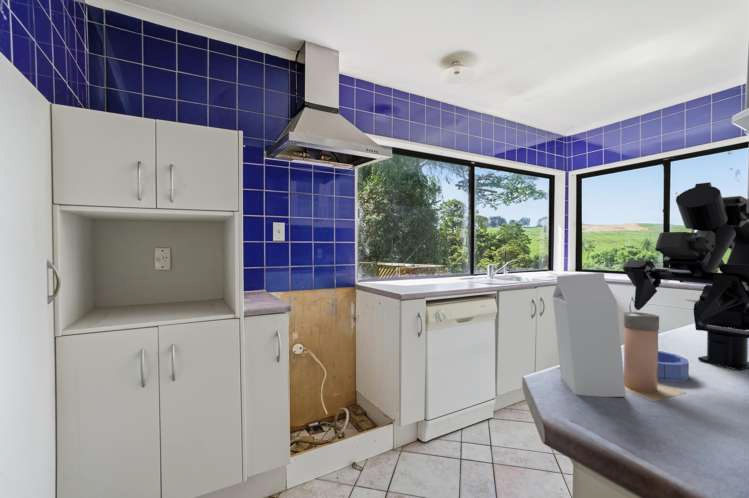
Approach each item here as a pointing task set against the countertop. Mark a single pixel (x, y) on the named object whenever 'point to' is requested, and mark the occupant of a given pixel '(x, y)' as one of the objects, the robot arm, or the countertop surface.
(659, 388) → the cork mat
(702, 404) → the countertop surface
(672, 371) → the bowl
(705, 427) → the countertop surface
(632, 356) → the spice jar
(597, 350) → the milk carton
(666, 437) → the countertop surface
